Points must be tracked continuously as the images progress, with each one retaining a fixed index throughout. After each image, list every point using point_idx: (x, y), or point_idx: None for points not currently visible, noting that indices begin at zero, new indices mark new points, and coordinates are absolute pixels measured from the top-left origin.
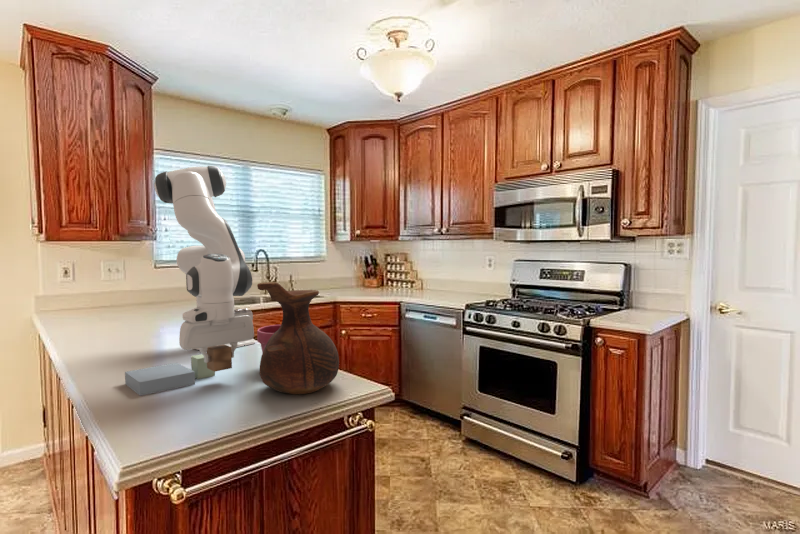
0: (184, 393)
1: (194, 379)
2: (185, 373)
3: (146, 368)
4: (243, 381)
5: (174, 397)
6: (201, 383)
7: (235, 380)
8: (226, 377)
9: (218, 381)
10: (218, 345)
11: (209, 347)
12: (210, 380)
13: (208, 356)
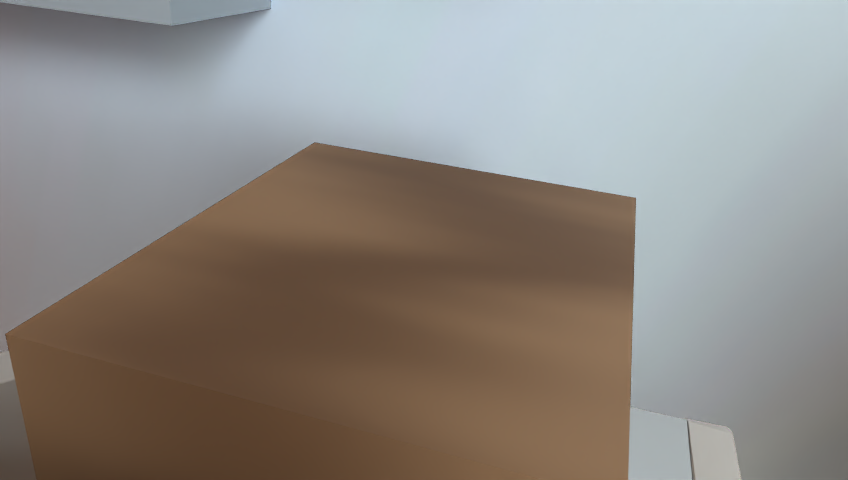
0: (102, 233)
1: (234, 11)
2: (48, 8)
3: None
4: (710, 402)
5: (20, 260)
6: (336, 48)
7: (683, 292)
8: (714, 61)
9: (520, 149)
10: (388, 459)
11: (72, 426)
12: (477, 12)
13: None
